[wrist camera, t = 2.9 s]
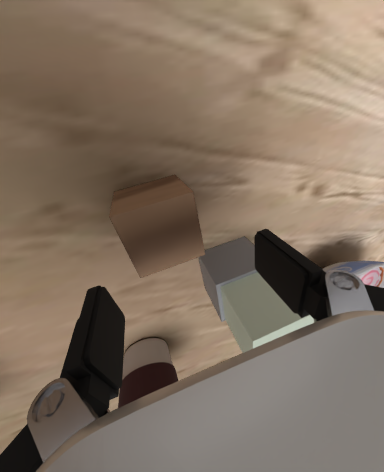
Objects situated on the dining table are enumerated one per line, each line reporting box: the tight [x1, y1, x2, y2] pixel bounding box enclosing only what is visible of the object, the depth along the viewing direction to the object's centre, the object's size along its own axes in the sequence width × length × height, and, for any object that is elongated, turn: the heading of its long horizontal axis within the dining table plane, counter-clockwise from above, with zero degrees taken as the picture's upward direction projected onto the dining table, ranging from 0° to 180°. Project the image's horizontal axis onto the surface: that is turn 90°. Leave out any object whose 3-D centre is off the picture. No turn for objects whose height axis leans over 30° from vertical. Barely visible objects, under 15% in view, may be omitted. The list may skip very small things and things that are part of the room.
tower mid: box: [220, 272, 314, 353], centre depth 19 cm, size 6×6×6 cm
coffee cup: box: [118, 338, 178, 408], centre depth 25 cm, size 10×10×15 cm
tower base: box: [198, 236, 257, 321], centre depth 24 cm, size 7×7×6 cm
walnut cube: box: [109, 175, 205, 278], centre depth 16 cm, size 6×6×6 cm
